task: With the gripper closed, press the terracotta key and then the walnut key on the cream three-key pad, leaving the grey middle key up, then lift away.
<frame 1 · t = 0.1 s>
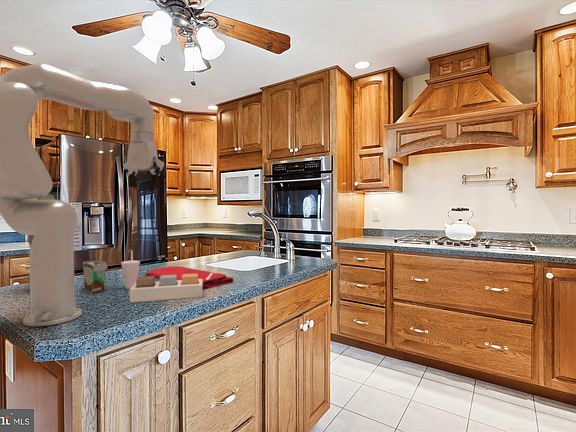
hand: (143, 186, 116), 37 cm above the countertop, tool pointing down, fingers open, 9 cm apart
food container: (97, 290, 117), on the countertop
smoothie: (131, 288, 120), on the countertop
red folded towel: (187, 280, 136), on the countertop
keypad: (168, 295, 109), on the countertop
grey key: (168, 281, 109), point 5 cm above the countertop, slide at 0.0 cm
walnut key: (145, 282, 107), point 5 cm above the countertop, slide at 0.0 cm
orange key: (190, 279, 111), point 5 cm above the countertop, slide at 0.0 cm
thermos: (44, 290, 118), on the countertop
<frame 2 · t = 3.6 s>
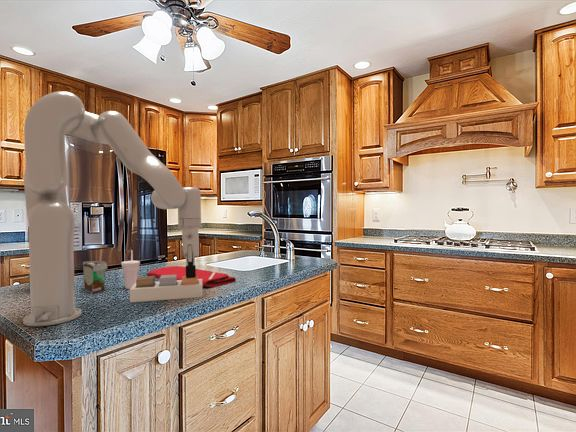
hand: (190, 277, 111), 6 cm above the countertop, tool pointing down, fingers closed
orange key: (190, 282, 111), point 4 cm above the countertop, slide at 0.7 cm, touching gripper
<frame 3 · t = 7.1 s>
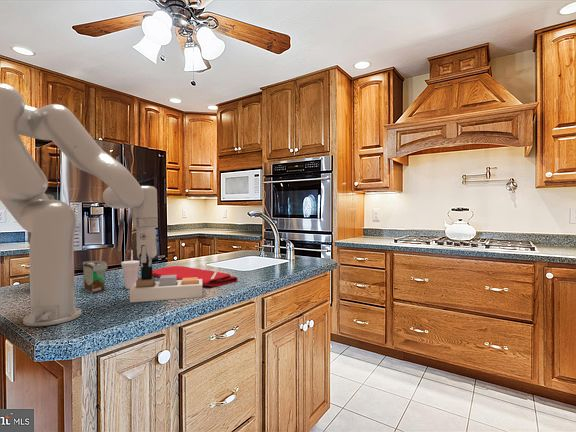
hand: (146, 278, 107), 6 cm above the countertop, tool pointing down, fingers closed
walnut key: (145, 283, 107), point 4 cm above the countertop, slide at 0.4 cm, touching gripper
orange key: (190, 283, 111), point 4 cm above the countertop, slide at 1.3 cm
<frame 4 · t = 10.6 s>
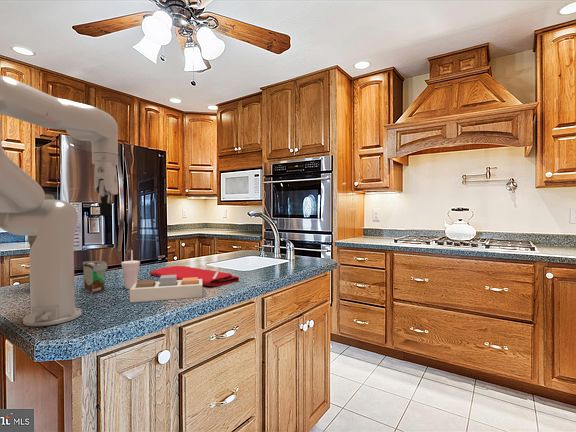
hand: (106, 215, 107), 27 cm above the countertop, tool pointing down, fingers closed
walnut key: (145, 286, 107), point 4 cm above the countertop, slide at 1.3 cm
at the end: orange key slide at 1.3 cm; walnut key slide at 1.3 cm; grey key slide at 0.0 cm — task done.
